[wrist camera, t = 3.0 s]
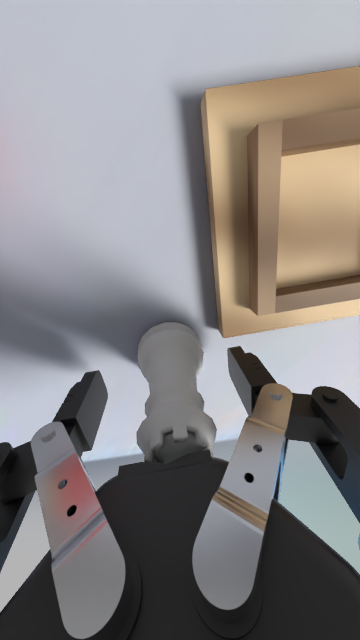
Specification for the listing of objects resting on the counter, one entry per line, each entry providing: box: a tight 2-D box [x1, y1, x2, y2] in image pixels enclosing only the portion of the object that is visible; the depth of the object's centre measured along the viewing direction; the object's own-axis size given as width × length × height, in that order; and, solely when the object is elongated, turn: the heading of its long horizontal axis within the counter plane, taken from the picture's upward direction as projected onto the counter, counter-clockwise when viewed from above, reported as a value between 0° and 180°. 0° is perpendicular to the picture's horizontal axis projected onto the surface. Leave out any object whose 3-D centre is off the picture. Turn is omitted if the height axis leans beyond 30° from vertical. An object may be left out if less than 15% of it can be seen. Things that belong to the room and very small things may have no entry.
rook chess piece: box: [137, 322, 217, 464], centre depth 11 cm, size 4×4×8 cm
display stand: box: [200, 66, 360, 338], centre depth 11 cm, size 12×12×2 cm
